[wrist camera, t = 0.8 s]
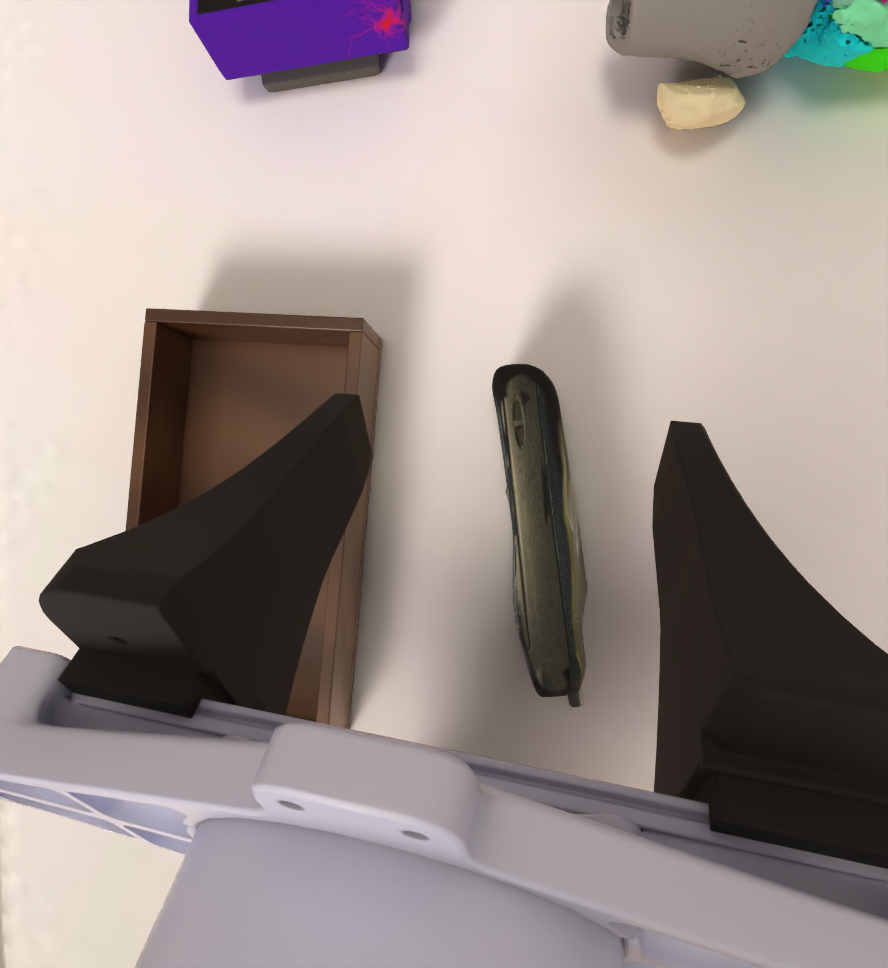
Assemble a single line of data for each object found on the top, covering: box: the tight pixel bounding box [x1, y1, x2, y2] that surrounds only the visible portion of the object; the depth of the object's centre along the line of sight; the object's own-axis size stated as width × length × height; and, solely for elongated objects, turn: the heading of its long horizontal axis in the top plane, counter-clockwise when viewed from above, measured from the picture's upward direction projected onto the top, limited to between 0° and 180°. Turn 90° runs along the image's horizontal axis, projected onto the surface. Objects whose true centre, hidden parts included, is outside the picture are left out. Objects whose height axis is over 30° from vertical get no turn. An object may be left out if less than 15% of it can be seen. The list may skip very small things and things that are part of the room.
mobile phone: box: [492, 364, 587, 707], centre depth 25 cm, size 5×3×15 cm
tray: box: [126, 308, 382, 729], centre depth 28 cm, size 19×10×4 cm, turn 175°
